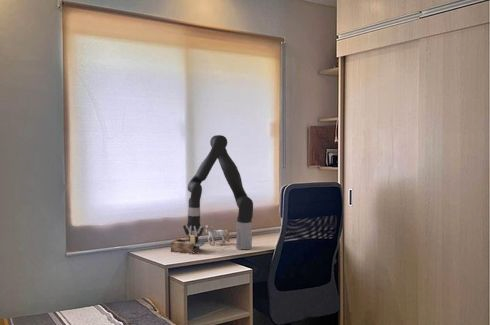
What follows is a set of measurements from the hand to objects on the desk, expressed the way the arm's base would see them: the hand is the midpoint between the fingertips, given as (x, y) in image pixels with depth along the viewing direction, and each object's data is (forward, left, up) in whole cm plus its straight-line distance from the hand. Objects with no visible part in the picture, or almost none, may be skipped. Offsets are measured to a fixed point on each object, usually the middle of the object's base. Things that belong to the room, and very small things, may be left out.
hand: (193, 242), depth 304 cm
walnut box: (+5, 0, -6) cm, 8 cm away
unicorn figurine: (-9, -18, -6) cm, 21 cm away
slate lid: (0, 0, -1) cm, 1 cm away
